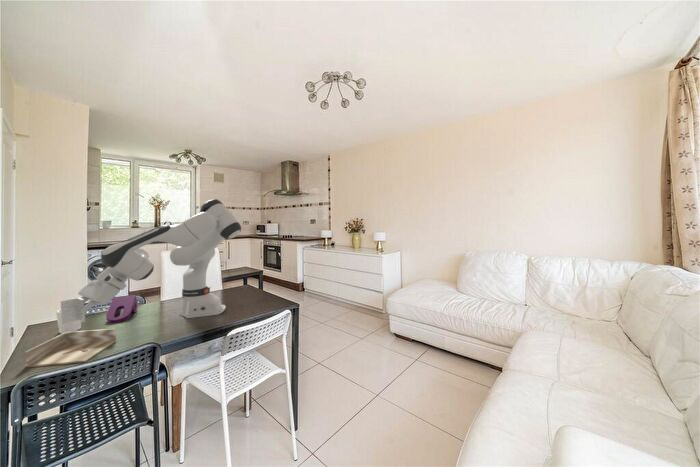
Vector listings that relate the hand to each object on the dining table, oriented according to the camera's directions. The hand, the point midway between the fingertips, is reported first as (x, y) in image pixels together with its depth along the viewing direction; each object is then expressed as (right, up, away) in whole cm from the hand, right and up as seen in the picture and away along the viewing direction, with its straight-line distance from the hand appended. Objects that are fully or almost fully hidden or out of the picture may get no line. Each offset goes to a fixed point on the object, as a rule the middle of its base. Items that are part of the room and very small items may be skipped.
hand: (78, 309), depth 98 cm
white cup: (-25, -16, +19) cm, 35 cm away
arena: (-2, -17, 0) cm, 17 cm away
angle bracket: (-1, -5, -1) cm, 5 cm away
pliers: (-33, -14, +47) cm, 59 cm away
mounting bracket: (-16, -15, +36) cm, 42 cm away
